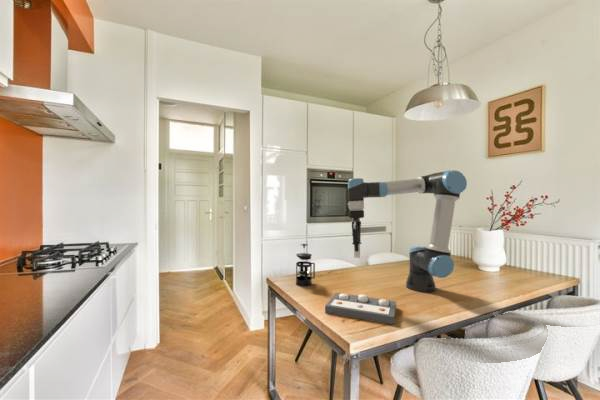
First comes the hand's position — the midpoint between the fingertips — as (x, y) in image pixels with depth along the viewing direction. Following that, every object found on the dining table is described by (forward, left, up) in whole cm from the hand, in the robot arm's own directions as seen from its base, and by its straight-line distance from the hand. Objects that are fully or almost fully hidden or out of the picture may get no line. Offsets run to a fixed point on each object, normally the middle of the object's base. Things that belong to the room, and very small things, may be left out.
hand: (357, 257), depth 134 cm
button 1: (+4, +9, -20) cm, 22 cm away
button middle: (-5, +9, -19) cm, 21 cm away
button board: (-5, +13, -20) cm, 25 cm away
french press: (+32, -12, -21) cm, 40 cm away
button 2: (-14, +9, -20) cm, 26 cm away
